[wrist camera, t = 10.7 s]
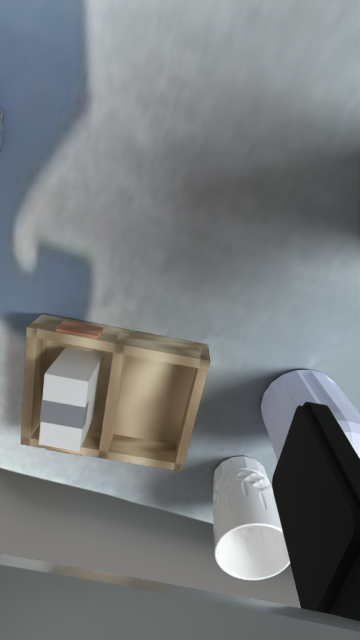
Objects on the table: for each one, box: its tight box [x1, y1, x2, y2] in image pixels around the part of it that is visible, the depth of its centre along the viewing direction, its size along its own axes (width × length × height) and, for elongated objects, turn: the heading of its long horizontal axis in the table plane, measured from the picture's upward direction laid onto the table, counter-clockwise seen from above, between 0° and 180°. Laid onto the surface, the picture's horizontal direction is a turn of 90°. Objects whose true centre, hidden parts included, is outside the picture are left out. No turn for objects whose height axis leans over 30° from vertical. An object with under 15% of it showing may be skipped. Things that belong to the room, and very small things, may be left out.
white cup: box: [213, 456, 290, 580], centre depth 39 cm, size 8×8×10 cm
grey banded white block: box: [39, 347, 103, 451], centre depth 35 cm, size 4×8×6 cm, turn 168°
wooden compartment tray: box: [21, 314, 210, 472], centre depth 38 cm, size 18×15×4 cm
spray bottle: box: [261, 370, 360, 460], centre depth 28 cm, size 9×9×25 cm
